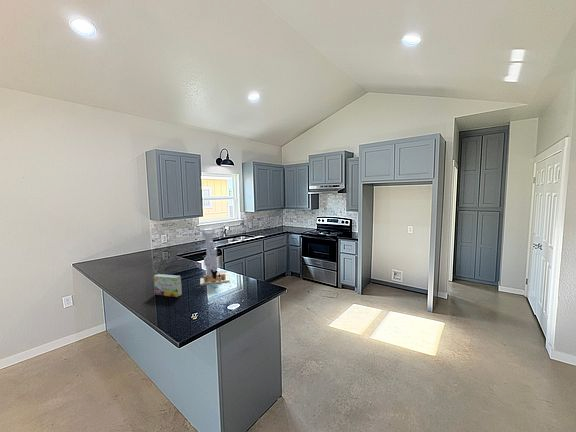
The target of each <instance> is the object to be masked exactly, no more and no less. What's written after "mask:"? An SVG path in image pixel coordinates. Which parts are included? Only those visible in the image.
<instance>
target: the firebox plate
mask: <svg viewBox="0 0 576 432" xmlns="http://www.w3.org/2000/svg"><path fill="white" fill-rule="evenodd" d="M225 275H226V278H225V279H224V276H222V279H221V277H218V280H210V281H207V278H205V281H204V277H200V281H199V285H200V286H208V285H215V284H216V285H217V284H223V283H224V284H225V283H230V278H229V275H228V274H225Z"/></svg>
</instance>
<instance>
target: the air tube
mask: <svg viewBox="0 0 576 432" xmlns="http://www.w3.org/2000/svg"><path fill="white" fill-rule="evenodd" d="M226 275H227V274H226V272H220V273H217V275H216V279H213V275H212V274H211V275H206V274H205V275H203V278H204V281H205V278H207V281H210V280H218V277H221V279H222V276H224V279H225V278H226Z"/></svg>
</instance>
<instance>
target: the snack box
mask: <svg viewBox="0 0 576 432" xmlns="http://www.w3.org/2000/svg"><path fill="white" fill-rule="evenodd" d="M153 282H154V283H153V285H154V294H155V295H156V296H163V297H164V296H165V297H174V298H178V297H180V296H182V295H183V289H182V276H181V275H175V274H163V273H161V274H160V273H157V274H155V275H153Z"/></svg>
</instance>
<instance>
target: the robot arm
mask: <svg viewBox="0 0 576 432" xmlns="http://www.w3.org/2000/svg"><path fill="white" fill-rule="evenodd" d="M201 233H202V238H203V239H204V240H205V248H206V249H205V251H206V255H205V257H203V264H204V266H205V270H206V271H205V272H206V273H205V275H211V274H212V275H213V279H216V275H217V274H218V272H219V271H218V249H217V248H218V247H216V244H215V242H214V241H213V237H214V234H215V230H214V228H212V227H211V228H203V229H201Z"/></svg>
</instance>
